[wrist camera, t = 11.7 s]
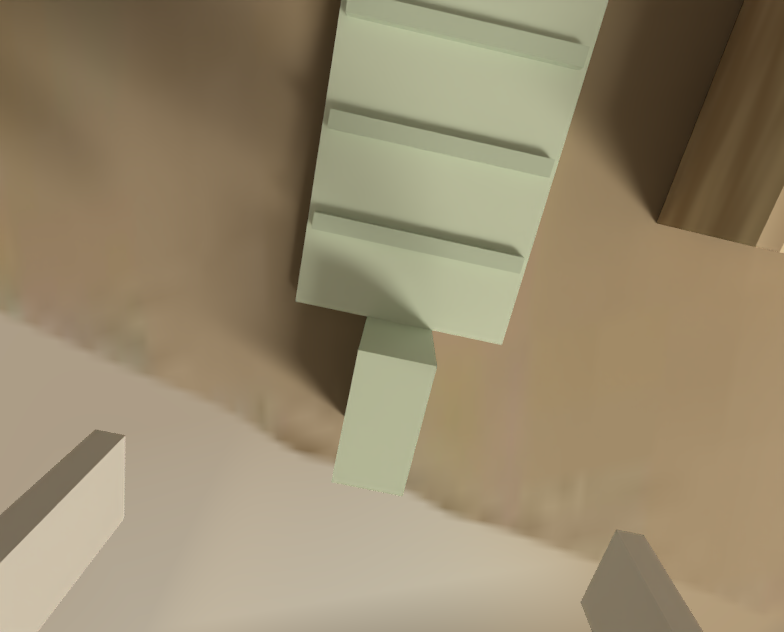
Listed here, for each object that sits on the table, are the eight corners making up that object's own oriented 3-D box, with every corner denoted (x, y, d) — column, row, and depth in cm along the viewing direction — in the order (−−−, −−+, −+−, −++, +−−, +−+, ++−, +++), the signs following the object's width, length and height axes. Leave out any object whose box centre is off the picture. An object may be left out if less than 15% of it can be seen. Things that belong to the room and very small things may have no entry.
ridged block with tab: (283, 405, 24) (251, 466, 19) (362, -106, 17) (344, -213, 12) (465, 442, 24) (479, 511, 19) (613, -44, 17) (693, -125, 12)
